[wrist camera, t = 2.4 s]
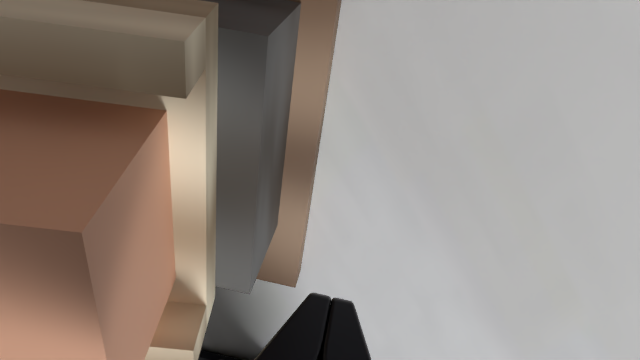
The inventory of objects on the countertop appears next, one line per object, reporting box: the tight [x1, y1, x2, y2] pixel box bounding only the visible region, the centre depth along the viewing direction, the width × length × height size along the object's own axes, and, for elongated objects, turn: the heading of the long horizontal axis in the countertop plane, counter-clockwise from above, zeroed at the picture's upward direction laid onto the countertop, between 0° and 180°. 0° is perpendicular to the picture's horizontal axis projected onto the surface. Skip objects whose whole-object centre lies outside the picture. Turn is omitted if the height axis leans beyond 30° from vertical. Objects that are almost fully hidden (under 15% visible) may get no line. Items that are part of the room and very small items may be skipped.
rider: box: [0, 89, 176, 360], centre depth 9 cm, size 5×5×4 cm
